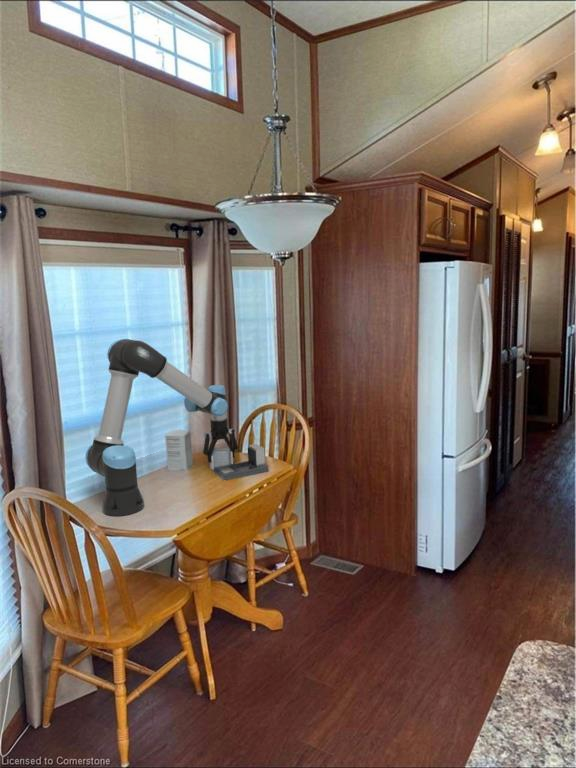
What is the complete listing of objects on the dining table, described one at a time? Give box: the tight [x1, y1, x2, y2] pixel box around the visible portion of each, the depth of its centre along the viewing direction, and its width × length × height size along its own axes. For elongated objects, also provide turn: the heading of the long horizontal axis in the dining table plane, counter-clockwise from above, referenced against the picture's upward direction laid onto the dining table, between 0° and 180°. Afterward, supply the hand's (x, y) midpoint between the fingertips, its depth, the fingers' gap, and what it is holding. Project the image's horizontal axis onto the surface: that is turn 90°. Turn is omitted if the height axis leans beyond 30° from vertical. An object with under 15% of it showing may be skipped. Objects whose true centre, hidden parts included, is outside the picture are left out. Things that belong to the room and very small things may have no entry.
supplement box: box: [164, 429, 194, 472], centre depth 261 cm, size 10×9×17 cm
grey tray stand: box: [213, 443, 269, 481], centre depth 251 cm, size 21×12×10 cm, turn 119°
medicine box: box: [212, 447, 231, 467], centre depth 259 cm, size 8×4×9 cm, turn 84°
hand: (221, 466), depth 260 cm, fingers open, 9 cm apart
